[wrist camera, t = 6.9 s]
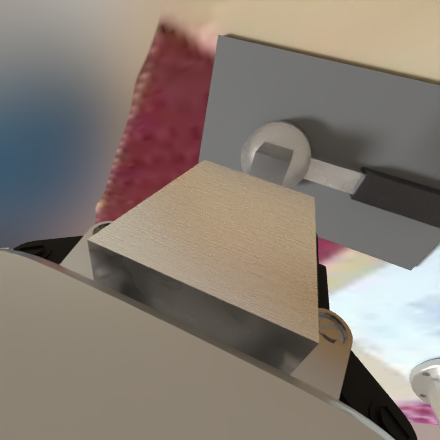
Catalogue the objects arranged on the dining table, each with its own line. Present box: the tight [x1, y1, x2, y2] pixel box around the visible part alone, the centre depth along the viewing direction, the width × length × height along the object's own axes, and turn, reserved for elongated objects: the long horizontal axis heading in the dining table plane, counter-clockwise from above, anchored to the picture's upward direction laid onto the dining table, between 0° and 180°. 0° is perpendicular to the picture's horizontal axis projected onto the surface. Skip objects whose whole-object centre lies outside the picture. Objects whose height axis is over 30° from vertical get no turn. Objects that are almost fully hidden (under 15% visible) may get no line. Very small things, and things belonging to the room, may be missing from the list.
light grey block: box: [87, 160, 319, 373], centre depth 9 cm, size 5×5×7 cm
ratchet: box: [241, 120, 440, 228], centre depth 21 cm, size 21×7×7 cm, turn 78°
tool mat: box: [198, 35, 440, 270], centre depth 24 cm, size 28×17×1 cm, turn 78°
